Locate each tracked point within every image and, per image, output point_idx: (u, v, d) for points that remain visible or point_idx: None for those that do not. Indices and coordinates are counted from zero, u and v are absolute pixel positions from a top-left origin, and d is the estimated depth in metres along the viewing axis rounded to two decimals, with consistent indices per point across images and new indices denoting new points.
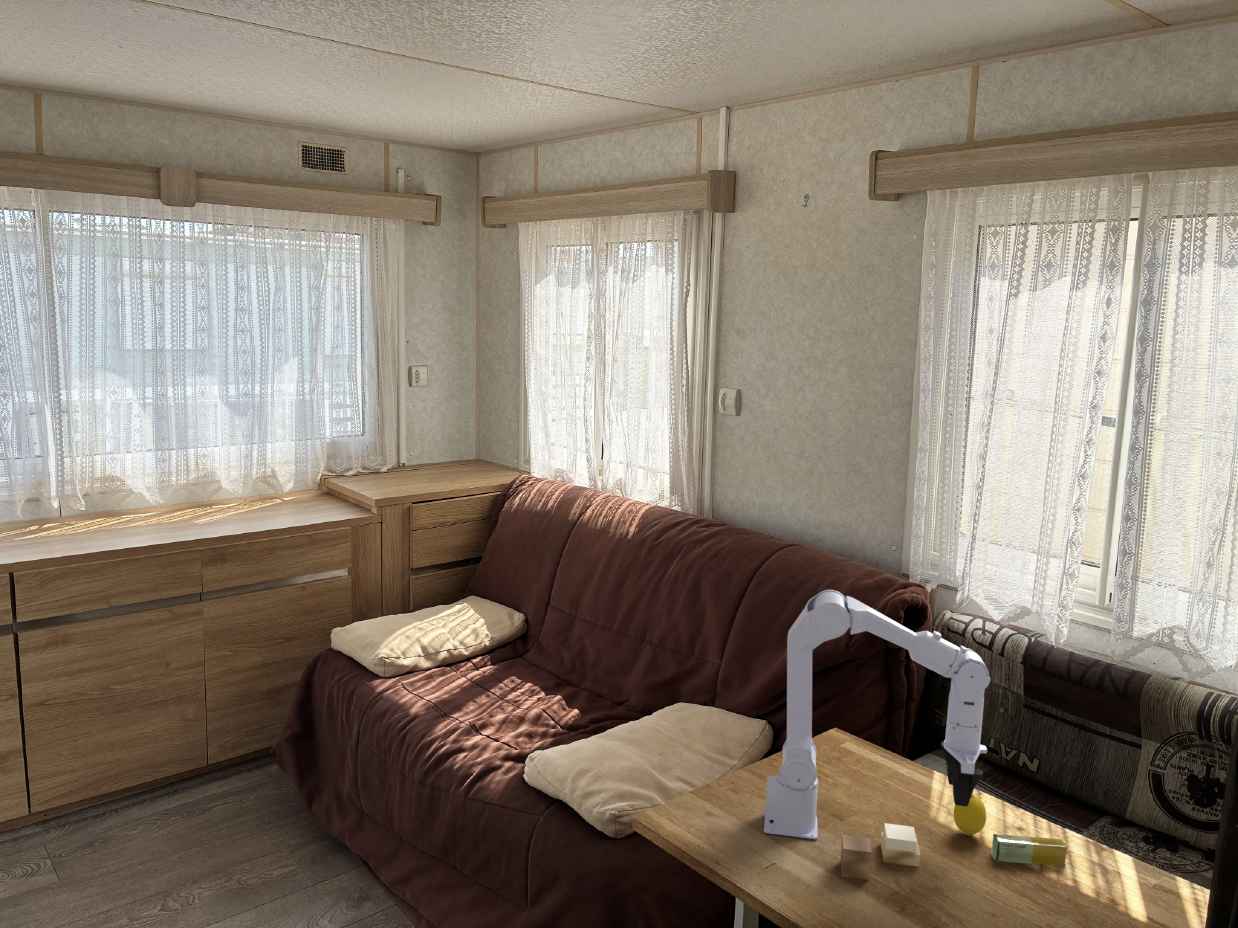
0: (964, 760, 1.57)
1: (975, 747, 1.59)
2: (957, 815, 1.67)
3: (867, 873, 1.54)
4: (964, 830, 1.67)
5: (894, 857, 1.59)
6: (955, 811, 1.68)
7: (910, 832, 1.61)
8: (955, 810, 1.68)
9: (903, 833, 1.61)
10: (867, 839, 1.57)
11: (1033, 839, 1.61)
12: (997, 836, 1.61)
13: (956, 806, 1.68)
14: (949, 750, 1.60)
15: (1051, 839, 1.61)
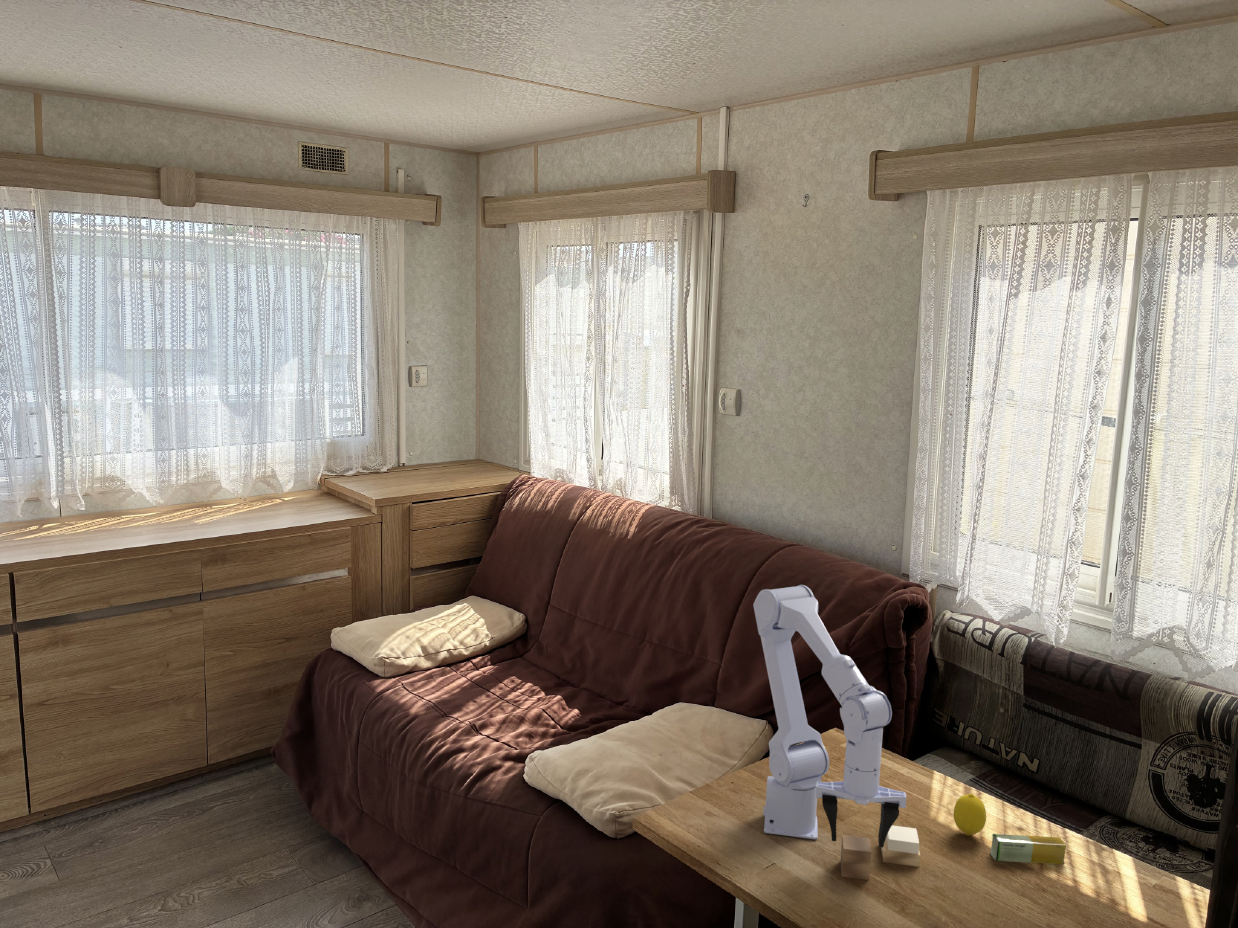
0: None
1: (847, 788, 1.53)
2: (957, 815, 1.67)
3: (867, 873, 1.54)
4: (964, 830, 1.67)
5: (894, 858, 1.59)
6: (955, 811, 1.68)
7: (913, 834, 1.61)
8: (955, 810, 1.68)
9: (905, 834, 1.60)
10: (867, 839, 1.57)
11: (1032, 837, 1.61)
12: (997, 836, 1.62)
13: (956, 806, 1.68)
14: None
15: (1050, 838, 1.62)
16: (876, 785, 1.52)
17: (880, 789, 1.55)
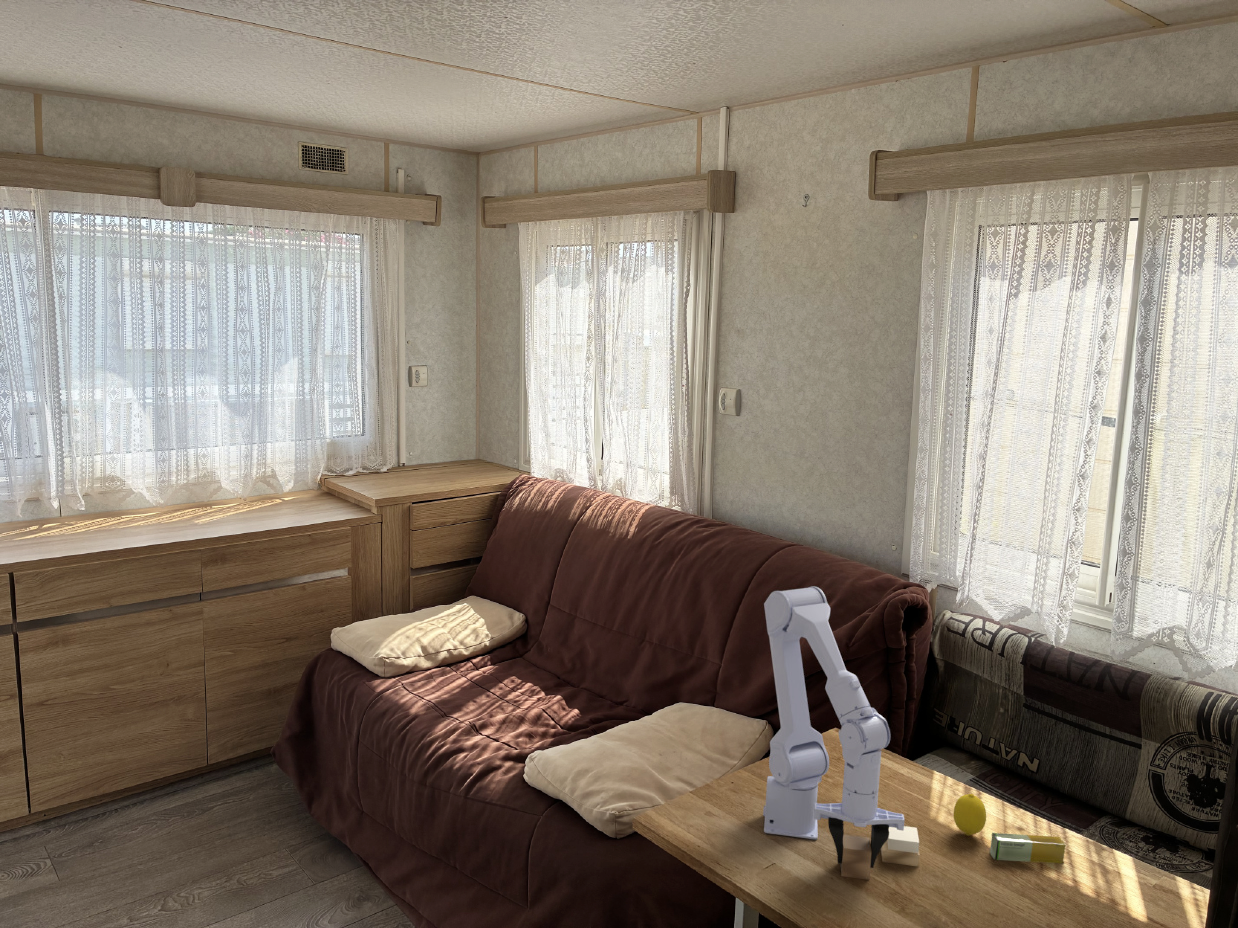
0: None
1: (846, 810, 1.53)
2: (957, 815, 1.67)
3: (867, 873, 1.53)
4: (964, 830, 1.67)
5: (894, 857, 1.59)
6: (955, 811, 1.68)
7: (913, 833, 1.61)
8: (955, 810, 1.68)
9: (905, 834, 1.60)
10: (867, 838, 1.57)
11: (1032, 837, 1.62)
12: (996, 835, 1.62)
13: (956, 806, 1.68)
14: None
15: (1050, 837, 1.62)
16: (874, 807, 1.53)
17: (878, 811, 1.56)
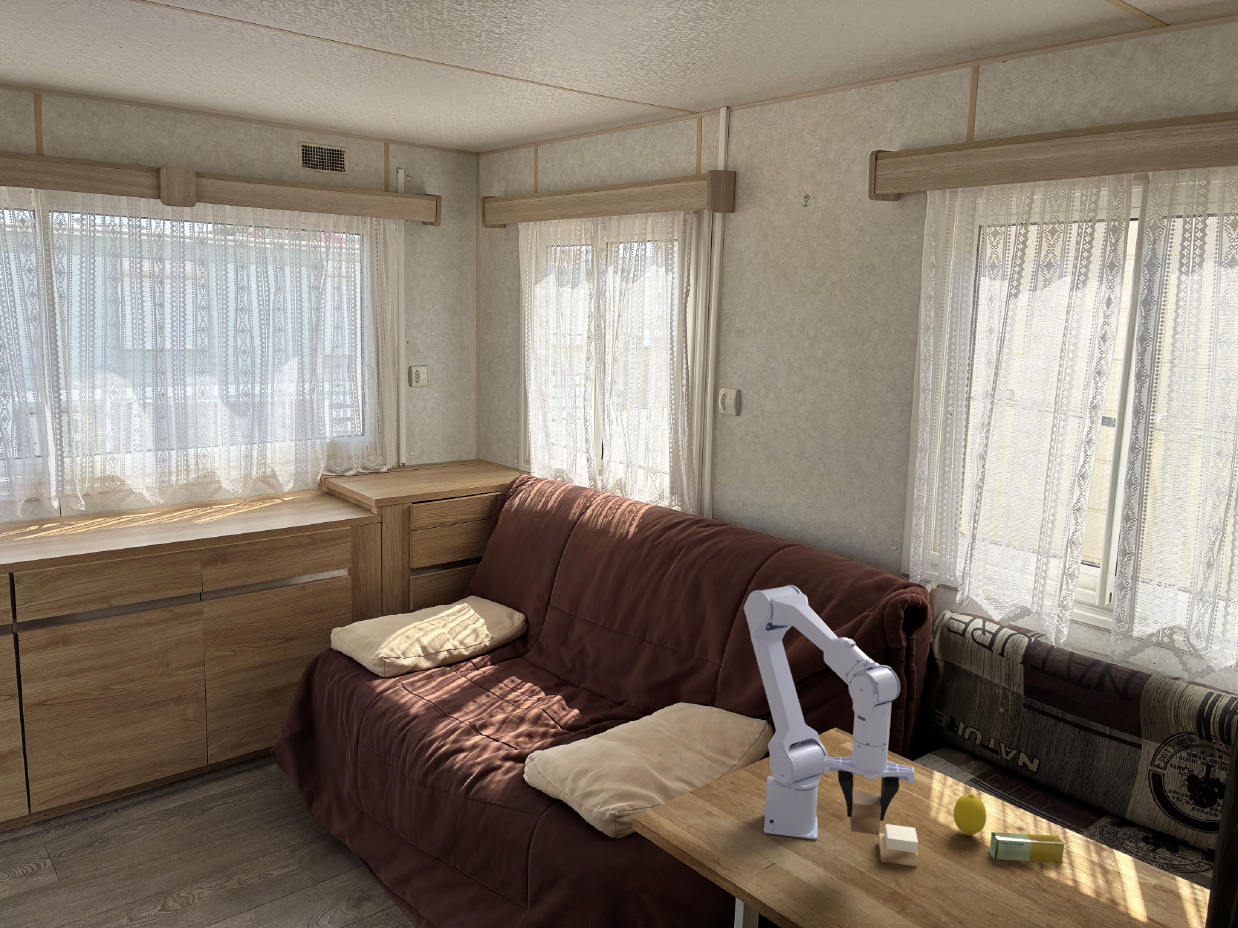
0: None
1: (856, 762, 1.53)
2: (957, 815, 1.67)
3: (876, 828, 1.53)
4: (964, 830, 1.67)
5: (892, 857, 1.59)
6: (955, 811, 1.68)
7: (911, 833, 1.61)
8: (955, 810, 1.68)
9: (904, 834, 1.61)
10: (877, 795, 1.56)
11: (1031, 836, 1.62)
12: (995, 834, 1.62)
13: (956, 806, 1.68)
14: None
15: (1049, 836, 1.62)
16: (884, 760, 1.52)
17: (888, 764, 1.55)
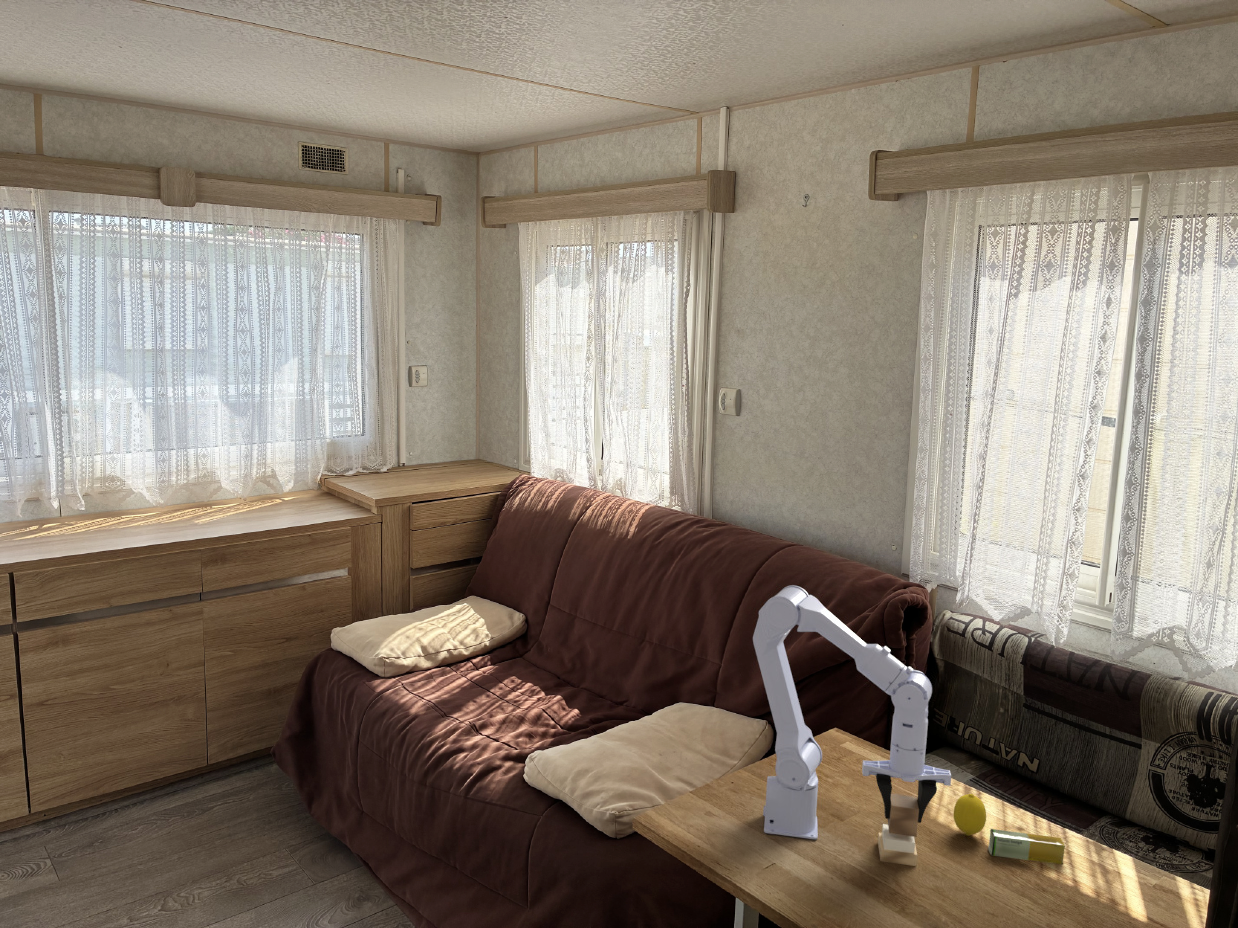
0: None
1: (894, 766, 1.58)
2: (957, 815, 1.67)
3: (914, 830, 1.58)
4: (964, 830, 1.67)
5: (891, 857, 1.59)
6: (955, 811, 1.68)
7: None
8: (955, 810, 1.68)
9: None
10: (914, 798, 1.61)
11: (1031, 835, 1.62)
12: (994, 831, 1.63)
13: (956, 806, 1.68)
14: None
15: (1050, 837, 1.62)
16: (922, 763, 1.57)
17: (925, 768, 1.60)
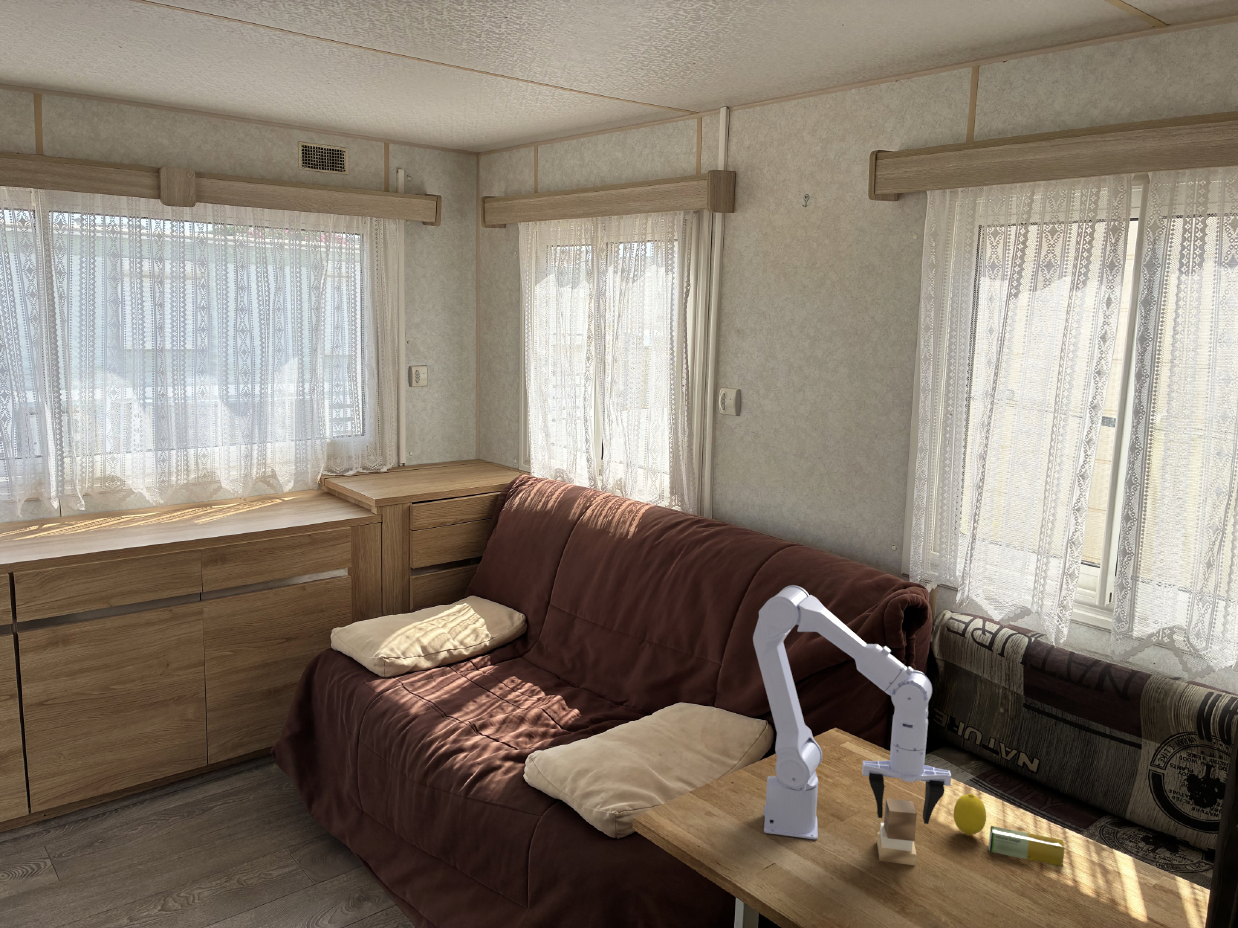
0: (873, 765, 1.61)
1: (894, 766, 1.58)
2: (957, 815, 1.67)
3: (912, 834, 1.58)
4: (964, 830, 1.67)
5: (890, 857, 1.59)
6: (955, 811, 1.68)
7: None
8: (955, 810, 1.68)
9: None
10: (910, 802, 1.62)
11: (1031, 835, 1.62)
12: (993, 828, 1.64)
13: (956, 806, 1.68)
14: None
15: (1051, 838, 1.61)
16: (922, 764, 1.57)
17: (925, 768, 1.60)
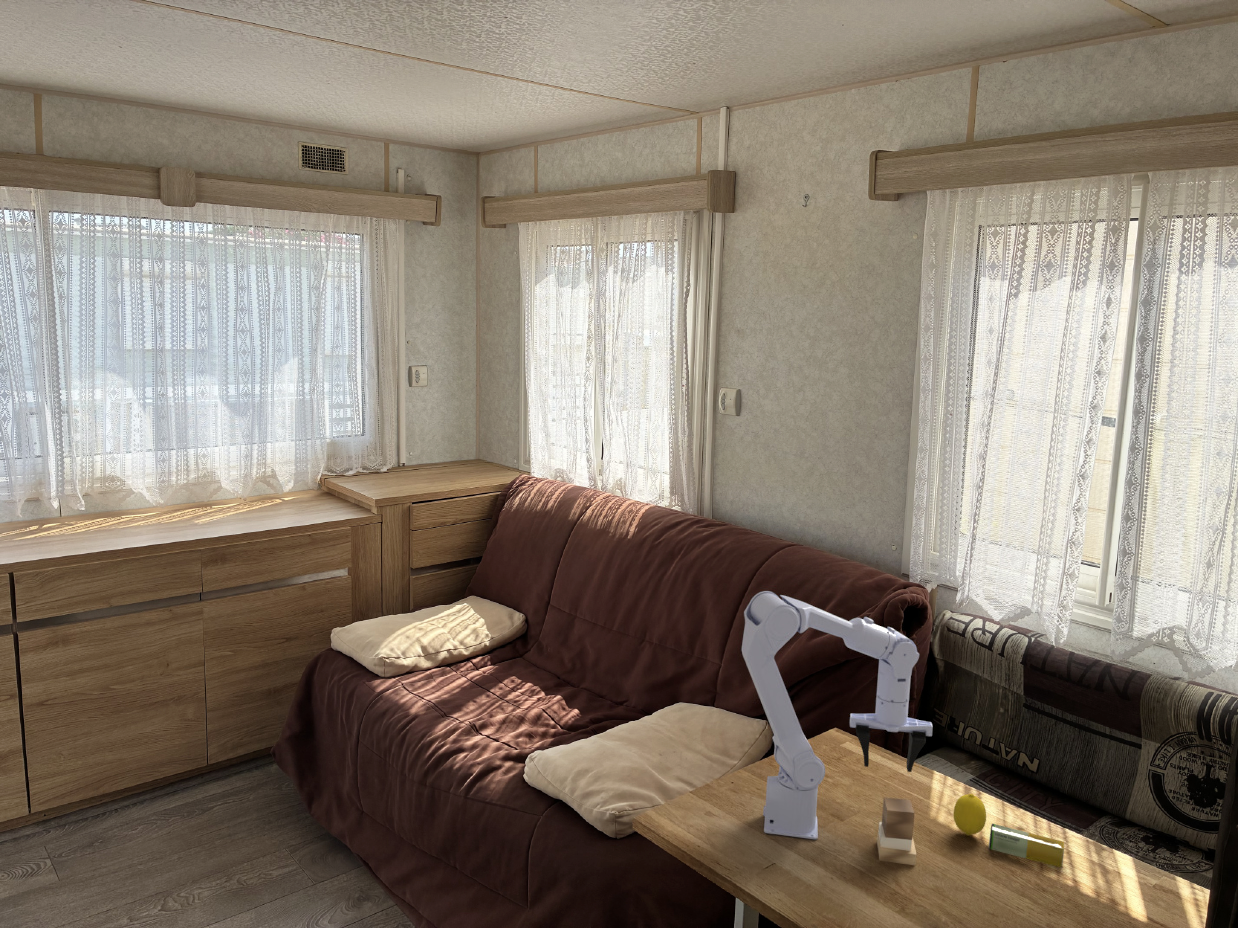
0: None
1: (879, 718, 1.69)
2: (957, 815, 1.67)
3: (910, 833, 1.59)
4: (964, 830, 1.67)
5: (890, 856, 1.59)
6: (955, 811, 1.68)
7: None
8: (955, 810, 1.68)
9: None
10: (908, 801, 1.62)
11: (1032, 835, 1.62)
12: (994, 825, 1.65)
13: (956, 806, 1.68)
14: None
15: (1052, 839, 1.61)
16: (905, 715, 1.68)
17: (908, 720, 1.72)
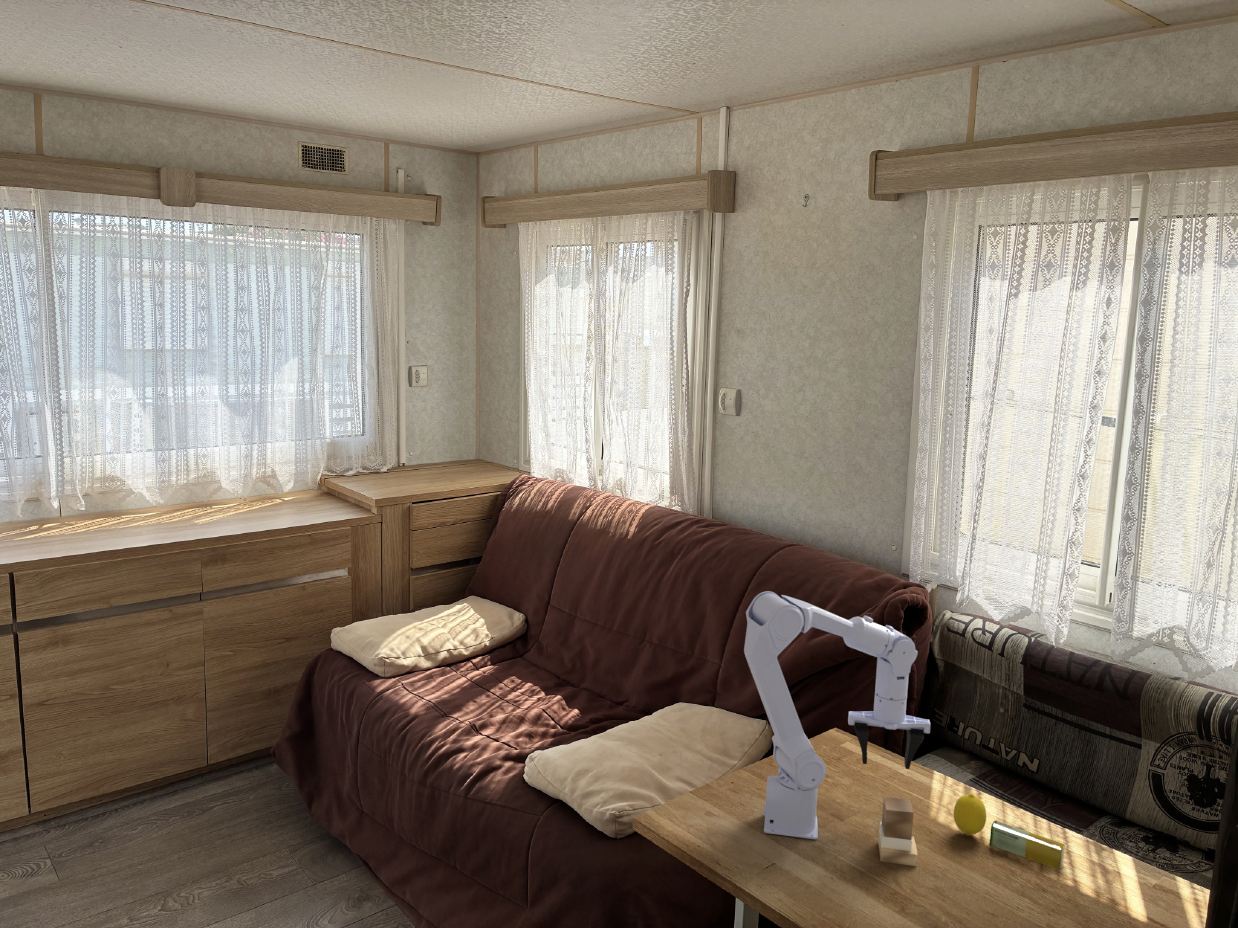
0: (858, 715, 1.73)
1: (878, 715, 1.70)
2: (957, 815, 1.67)
3: (909, 833, 1.59)
4: (964, 830, 1.67)
5: (892, 857, 1.59)
6: (955, 811, 1.68)
7: None
8: (955, 810, 1.68)
9: None
10: (908, 801, 1.62)
11: (1032, 835, 1.62)
12: (996, 822, 1.66)
13: (956, 806, 1.68)
14: None
15: (1052, 841, 1.61)
16: (903, 713, 1.70)
17: (906, 717, 1.73)
